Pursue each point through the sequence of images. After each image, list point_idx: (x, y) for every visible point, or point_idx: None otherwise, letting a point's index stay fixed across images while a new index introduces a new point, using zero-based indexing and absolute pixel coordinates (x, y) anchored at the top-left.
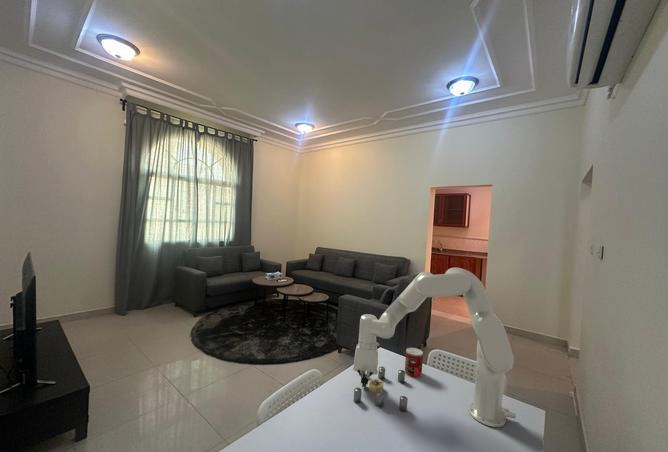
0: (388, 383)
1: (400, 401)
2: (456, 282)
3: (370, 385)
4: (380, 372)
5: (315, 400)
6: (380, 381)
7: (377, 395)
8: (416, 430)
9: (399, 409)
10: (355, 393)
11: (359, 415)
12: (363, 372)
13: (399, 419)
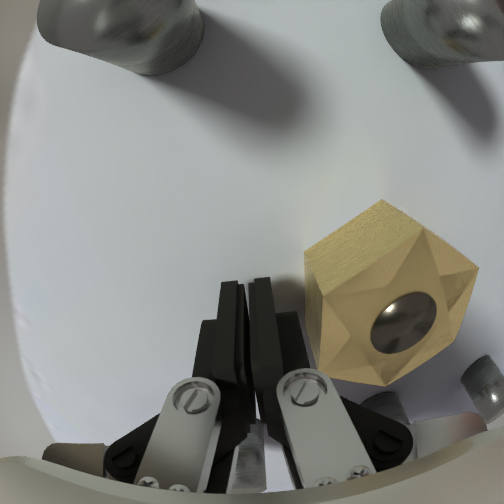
0: (481, 129)
1: (480, 414)
2: None
3: (332, 372)
4: (464, 50)
5: (74, 435)
6: (455, 270)
7: None
8: None
9: (462, 383)
10: None
11: (274, 465)
12: (215, 428)
13: (436, 416)
